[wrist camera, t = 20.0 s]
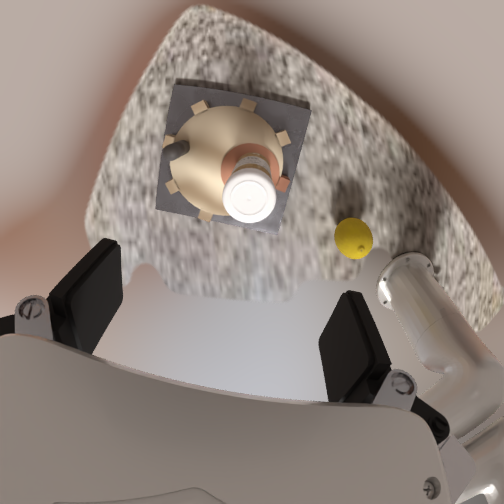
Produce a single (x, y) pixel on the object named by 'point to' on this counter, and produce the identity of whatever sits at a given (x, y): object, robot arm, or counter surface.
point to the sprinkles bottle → (250, 189)
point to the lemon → (353, 238)
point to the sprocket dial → (220, 152)
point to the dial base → (269, 110)
